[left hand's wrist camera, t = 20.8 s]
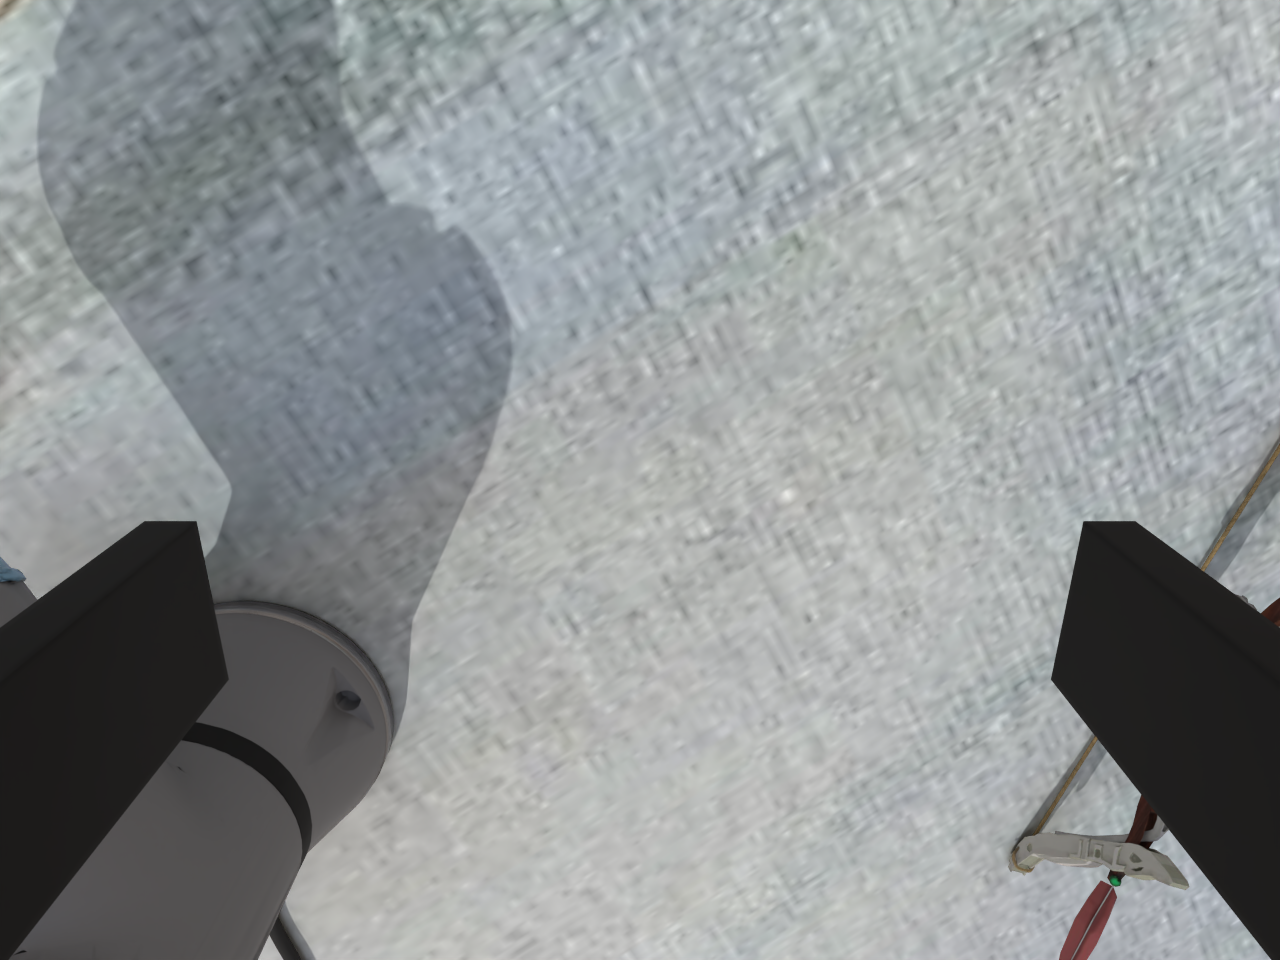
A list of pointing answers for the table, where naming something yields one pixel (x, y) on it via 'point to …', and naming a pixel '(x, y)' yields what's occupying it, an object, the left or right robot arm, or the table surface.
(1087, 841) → the bow
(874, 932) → the table surface
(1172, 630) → the left robot arm
